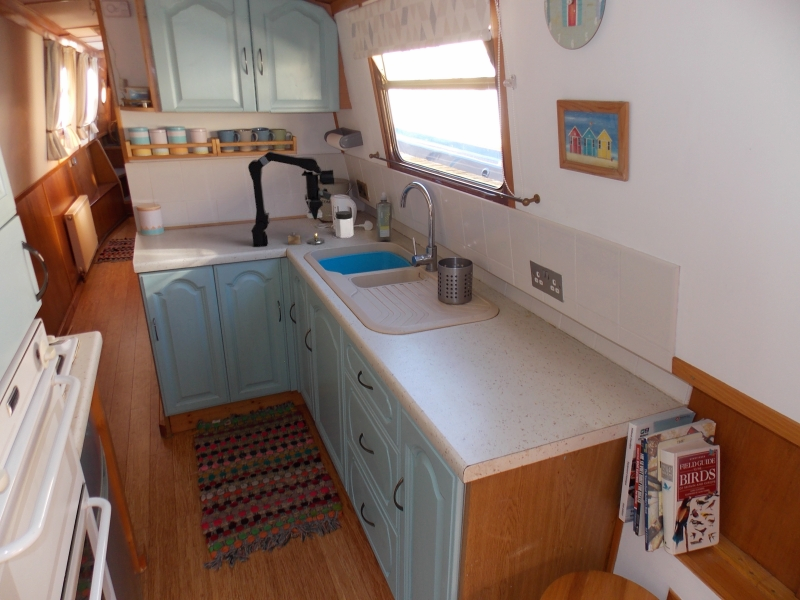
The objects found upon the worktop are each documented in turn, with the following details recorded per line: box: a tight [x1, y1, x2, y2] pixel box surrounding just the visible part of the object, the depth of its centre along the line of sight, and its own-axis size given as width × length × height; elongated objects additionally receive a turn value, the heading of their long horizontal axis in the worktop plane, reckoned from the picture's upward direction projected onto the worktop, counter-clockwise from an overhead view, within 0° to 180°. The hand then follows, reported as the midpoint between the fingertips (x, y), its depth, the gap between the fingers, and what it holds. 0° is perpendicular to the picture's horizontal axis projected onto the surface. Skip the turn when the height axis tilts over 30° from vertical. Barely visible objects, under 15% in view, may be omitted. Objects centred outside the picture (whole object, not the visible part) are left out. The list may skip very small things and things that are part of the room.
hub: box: [307, 232, 326, 246], centre depth 273 cm, size 8×8×5 cm
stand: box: [287, 232, 301, 246], centre depth 271 cm, size 6×2×6 cm, turn 106°
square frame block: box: [305, 209, 323, 219], centre depth 269 cm, size 7×7×2 cm
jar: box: [334, 210, 354, 239], centre depth 283 cm, size 9×8×12 cm
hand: (314, 217), depth 270 cm, fingers closed on square frame block, 7 cm apart
